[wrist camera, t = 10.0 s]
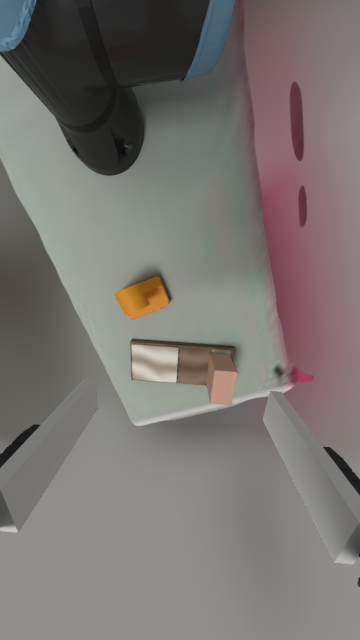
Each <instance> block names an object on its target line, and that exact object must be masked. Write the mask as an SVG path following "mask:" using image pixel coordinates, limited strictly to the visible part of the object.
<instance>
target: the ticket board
mask: <svg viewBox="0 0 360 640" xmlns="http://www.w3.org/2000/svg"><path fill="white" fill-rule="evenodd" d="M130 347H131V376H132V380H141V381H154V382H168V383H181V384H195V385H207V382H206V381H207V373H208V365H209V356H210V353H217V354H229V356H230V358H231V360H232V362H233V358H234V352H235V348H234V347H232V346H217V345H202V344H188V343H173V342H159V341H144V340H131V342H130Z"/></svg>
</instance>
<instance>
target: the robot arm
mask: <svg viewBox="0 0 360 640" xmlns="http://www.w3.org/2000/svg"><path fill="white" fill-rule="evenodd" d="M235 1H236V0H0V55H1V56H2V57H3V59H4V60H5V61H6V62H7V63H8V64H9V65H10V67H11V68H12V69H13V70H14V71H15V72H16V73H17V74H18V76H19V77H20V78H21V79H22V80H23V81H24V82H25V84H26V85H27V86H28V87H29V88H30V89H31V90H32V91H33V93H34V94H35V95H36V96H37V97H38V98H39V99H40V100H41V102H42V103H43V104H44V105H45V106H46V107H47V108H48V110H49V111H50V112H51V113H52V114H53V115H54V116H55V118H56V120H57V122H58V124H59V126H60V128H61V130H62V132H63V134H64V136H65V138H66V141H67V142H68V144H69V146H70V148H71V149H72V151H73V152H74V153H75V155H76V156H77V157H78V158H79V159H80V160H81V161H82V162H83V163H84V164H85V165H86V166H87V167H88V168H90V169H91V170H93V171H94V172H96V173H99V174H102V175H116V174H119V173H122V172H124V171H125V170H127V169H128V168H129V167H130V166H131V165H132V164H133V163H134V161H135V160H136V158H137V156H138V154H139V152H140V149H141V145H142V140H143V122H142V116H141V113H140V109H139V106H138V103H137V100H136V97H135V95H134V93H133V90H132V88H131V87H133V86H139V85H146V84H152V83H159V82H165V81H172V80H178V79H179V81H180V82H185V81H186V80H188V79H189V78H191V77H196V76H200V75H205V74H207V73H209V72H210V71H211V70H212V69H213V67H214V66H215V65H216V64H217V62H218V60H219V58H220V56H221V54H222V51H223V48H224V45H225V42H226V39H227V35H228V31H229V28H230V23H231V19H232V15H233V10H234V5H235ZM97 409H98V401H97V392H96V383H95V379H92V378H84V379H83V381H82V382H81V383H80V384H79V385H78V386H77V387H76V388H75V389H74V390H73V391H72V392H71V393H70V394H69V395H68V396H67V398H66V399H65V400H64V401H63V402H62V403H61V404H60V405H59V406H58V407H57V408H56V409H55V410H54V411H53V413H52V414H51V415H50V416H49V417H48V418H47V419H46V420H45V421H44V422H43V423H42V424H41V425H33V426H31V427H30V428H29V429H27V430H25V431H24V432H23V433H21V434H20V435H19V436H18V437H17V438H16V440H14V441H13V442H12V444H11V445H9V446H8V447H7V448H6V449H5V450H4V452H3V453H2V454H0V531H6V532H16V533H18V532H19V531H20V529H21V528H22V526H23V524H24V523H25V521H26V520H27V518H28V517H29V515H30V513H31V512H32V510H33V509H34V507H35V506H36V504H37V503H38V501H39V500H40V498H41V496H42V494H43V493H44V492H45V490H46V488H47V487H48V485H49V484H50V482H51V481H52V479H53V478H54V476H55V474H56V473H57V471H58V470H59V468H60V467H61V465H62V464H63V462H64V460H65V459H66V457H67V456H68V454H69V453H70V451H71V449H72V448H73V446H74V445H75V443H76V442H77V440H78V439H79V437H80V435H81V434H82V432H83V431H84V429H85V428H86V426H87V425H88V423H89V421H90V420H91V418H92V417H93V415H94V414H95V412H96V410H97ZM263 422H264V424H265V426H266V428H267V430H268V432H269V434H270V436H271V437H272V440H273V441H274V444H275V446H276V448H277V450H278V451H279V454H280V456H281V458H282V460H283V462H284V464H285V466H286V467H287V470H288V472H289V473H290V476H291V478H292V480H293V482H294V484H295V485H296V487H297V490H298V491H299V494H300V495H301V497H302V500H303V501H304V503H305V505H306V507H307V509H308V511H309V513H310V515H311V517H312V519H313V521H314V523H315V525H316V527H317V529H318V531H319V533H320V535H321V537H322V539H323V541H324V543H325V545H326V547H327V549H328V551H329V553H330V555H331V557H332V559H333V561H334V562H335V563H345V564H354V563H355V561H356V560H357V558H358V557H360V479H359V478H358V477H357V476H356V474H355V473H354V472H352V469H351V468H350V467H349V466H348V465H347V463H346V462H345V461H344V460H343V458H342V457H340V456H339V455H338V454H337V453H336V452H335V451H334V450H332V449H331V448H330V447H322V445H321V444H320V443H319V442H318V440H317V439H316V438H315V436H314V435H313V434H312V432H311V431H310V430H309V428H308V427H307V426H306V425H305V423H304V422H303V421H302V419H301V418H300V417H299V415H298V414H297V413H296V411H295V410H294V409H293V408H292V406H291V405H290V404H289V402H288V401H287V400H286V398H285V397H284V396H283V394H282V393H281V392H275V391H270V394H269V398H268V402H267V406H266V409H265V413H264V417H263ZM358 586H359V587H360V578H359V579H358Z"/></svg>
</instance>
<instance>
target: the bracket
mask: <svg viewBox="0 0 360 640" xmlns="http://www.w3.org/2000/svg"><path fill="white" fill-rule="evenodd" d="M115 296H116V298H117V300H118V302H119V304H120V306H121V308H122V309H123V311H124V313H125V315H128V316H129V317H130V318H131V319H136V318H139V317H141V316H144V315H146V314H149V313H151V312H153V311H156V310H158V309H161V308H163V307H165V306H167V305H168V304H169V302H170V300H169V298H168V295H167V293H166V291H165V289H164V286H163V284H162V282H161V280H160V277H159V276H156V277H153V278H151V279H148V280H145V281H143V282H140V283H137V284H135V285H132V286H130V287H127V288H125V289H123V290H121V291H118V292H116V293H115Z"/></svg>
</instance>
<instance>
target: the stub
mask: <svg viewBox="0 0 360 640" xmlns="http://www.w3.org/2000/svg"><path fill="white" fill-rule="evenodd" d="M236 377H237V370H236V368H235V366H234V364H233V362H232V360H231V358H230V356H229V354H217V353H210V356H209V365H208V373H207V381H206V382H207V388H208V393H209V399H210V403H212V404H225V405H232V399H233V394H234V388H235V383H236Z"/></svg>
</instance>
